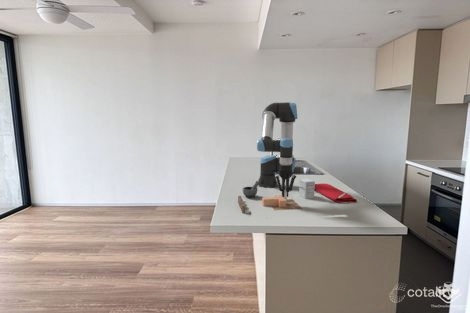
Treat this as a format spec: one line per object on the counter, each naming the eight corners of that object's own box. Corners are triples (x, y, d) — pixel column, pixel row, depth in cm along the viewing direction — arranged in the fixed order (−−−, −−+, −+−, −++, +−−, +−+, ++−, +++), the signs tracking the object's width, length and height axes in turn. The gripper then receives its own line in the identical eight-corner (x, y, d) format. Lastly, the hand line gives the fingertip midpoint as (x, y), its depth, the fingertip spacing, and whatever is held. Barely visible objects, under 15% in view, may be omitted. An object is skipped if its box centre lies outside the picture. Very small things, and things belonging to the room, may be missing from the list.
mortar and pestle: (242, 200, 191) (242, 182, 189) (242, 196, 200) (242, 179, 198) (259, 200, 190) (259, 182, 188) (259, 196, 199) (259, 179, 197)
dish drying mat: (328, 186, 228) (328, 182, 228) (357, 202, 188) (357, 197, 187) (309, 187, 226) (309, 182, 225) (334, 203, 186) (334, 198, 185)
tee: (260, 202, 183) (261, 195, 182) (281, 201, 184) (281, 195, 184) (264, 207, 172) (265, 201, 171) (286, 207, 174) (286, 200, 173)
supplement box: (298, 197, 197) (299, 179, 195) (307, 196, 200) (308, 178, 198) (304, 200, 190) (305, 181, 188) (314, 199, 193) (315, 180, 191)
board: (238, 202, 186) (238, 195, 185) (292, 200, 190) (292, 194, 189) (242, 213, 166) (242, 205, 166) (302, 211, 170) (303, 203, 170)
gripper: (277, 165, 171) (276, 204, 174) (298, 165, 172) (297, 203, 176) (273, 163, 178) (272, 200, 182) (294, 162, 180) (293, 199, 183)
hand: (284, 202), depth 179 cm, fingers closed
